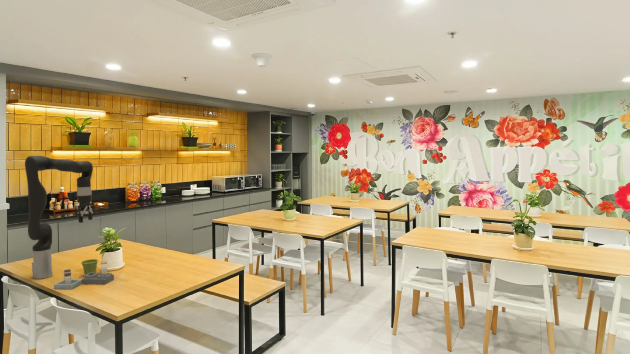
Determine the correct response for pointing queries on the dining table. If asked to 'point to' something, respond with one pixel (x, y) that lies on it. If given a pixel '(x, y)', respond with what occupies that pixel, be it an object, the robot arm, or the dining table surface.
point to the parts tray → (67, 286)
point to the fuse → (104, 268)
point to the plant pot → (89, 266)
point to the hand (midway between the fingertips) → (85, 221)
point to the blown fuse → (67, 276)
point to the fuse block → (97, 278)
